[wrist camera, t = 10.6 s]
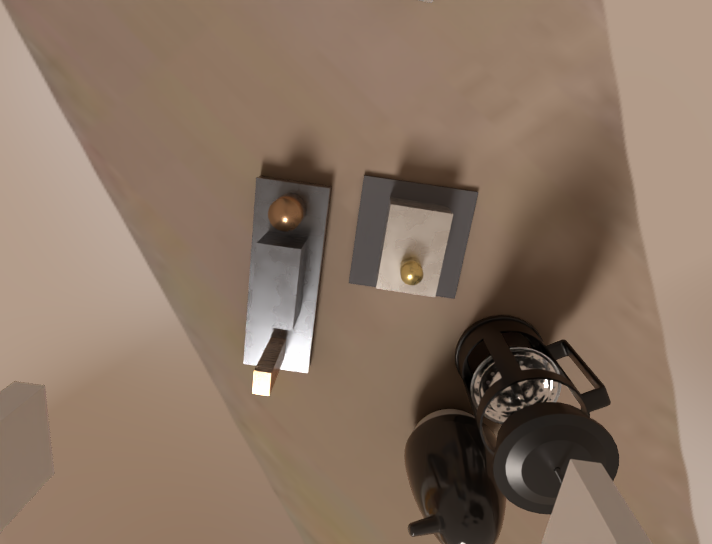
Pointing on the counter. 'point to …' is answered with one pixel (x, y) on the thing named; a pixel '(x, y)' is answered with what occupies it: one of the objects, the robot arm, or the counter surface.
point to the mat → (374, 220)
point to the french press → (532, 412)
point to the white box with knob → (413, 247)
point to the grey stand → (284, 277)
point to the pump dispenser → (454, 480)
